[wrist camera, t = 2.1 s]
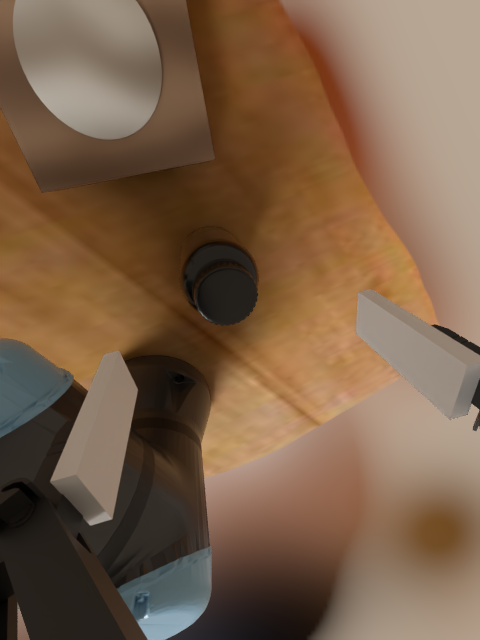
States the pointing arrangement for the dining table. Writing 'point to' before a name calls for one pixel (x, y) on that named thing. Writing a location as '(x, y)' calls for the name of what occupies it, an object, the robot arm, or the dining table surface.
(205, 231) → the supplement bottle
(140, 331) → the dining table surface
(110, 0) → the walnut plinth
